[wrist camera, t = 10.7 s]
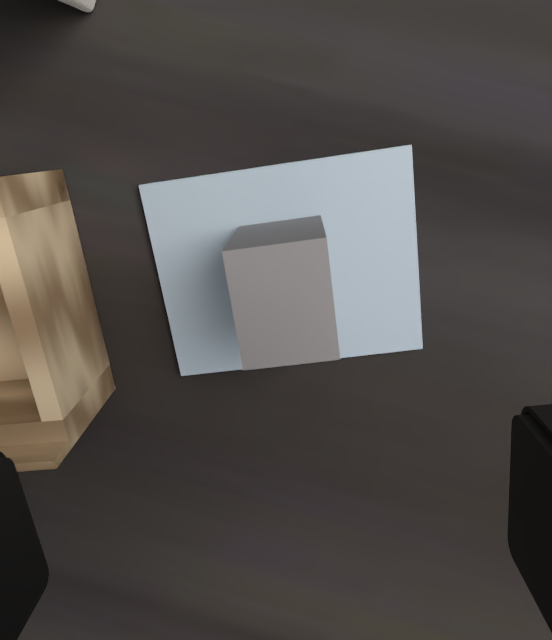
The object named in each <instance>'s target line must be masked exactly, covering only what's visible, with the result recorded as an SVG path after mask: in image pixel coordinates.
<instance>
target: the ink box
mask: <svg viewBox="0 0 552 640" xmlns="http://www.w3.org/2000/svg"><path fill="white" fill-rule="evenodd" d="M59 1H61V2H63V3H66V4H68V5H70V6H73V7H75V8H77V9H79V10H82V11H84V12H91V11H92V10H93V9H94V6H95V2H96V0H59Z"/></svg>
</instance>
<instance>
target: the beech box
mask: <svg viewBox="0 0 552 640" xmlns="http://www.w3.org/2000/svg"><path fill="white" fill-rule="evenodd" d="M115 389H116V388H115V384H114V380H113V376H112V372H111V367H110V363H109V359H108V355H107V351H106V347H105V343H104V338H103V334H102V330H101V326H100V322H99V318H98V314H97V310H96V305H95V301H94V297H93V293H92V289H91V285H90V281H89V276H88V272H87V268H86V264H85V260H84V256H83V252H82V248H81V243H80V239H79V235H78V231H77V227H76V223H75V219H74V214H73V210H72V206H71V202H70V198H69V194H68V190H67V186H66V181H65V177H64V173H63V169H59V170H51V171H42V172H34V173H26V174H18V175H10V176H2V177H0V452H2V453H3V454H4V455H5V456H6V458H7V457H8V458H10V459H11V460H12V461H13V462H14V464H15V467H16V470H17V472H19V471H33V470H46V469H57V468H58V466H59V465H60V463H61V462H62V461H63V459H64V458H65V457H66V455H67V454H68V453H69V451H70V450H71V449H72V447H73V446H74V444H75V443H76V442H77V440H78V439H79V438H80V436H81V435H82V434H83V432H84V431H85V429H86V428H87V427H88V425H89V424H90V423H91V421H92V420H93V419H94V417H95V416H96V414H97V413H98V412H99V410H100V409H101V408H102V406H103V405H104V404H105V402H106V401H107V400H108V398H109V397H110V395H111V394H112V393H113V391H114V390H115Z"/></svg>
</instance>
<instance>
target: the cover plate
mask: <svg viewBox="0 0 552 640" xmlns="http://www.w3.org/2000/svg"><path fill="white" fill-rule="evenodd" d="M138 186H139V190H140V195H141V199H142V204H143V208H144V212H145V217H146V221H147V226H148V230H149V235H150V239H151V244H152V248H153V253H154V257H155V262H156V266H157V271H158V275H159V280H160V284H161V288H162V293H163V297H164V302H165V306H166V311H167V315H168V320H169V324H170V329H171V333H172V338H173V342H174V347H175V351H176V355H177V360H178V364H179V369H180V373H181V376H186V375H195V374H204V373H213V372H222V371H231V370H239V369H243V370H252V369H261V368H270V367H279V366H287V365H296V364H305V363H314V362H323V361H332V360H340V358H345V357H354V356H363V355H372V354H381V353H389V352H398V351H407V350H416V349H423V344H422V325H421V307H420V289H419V270H418V252H417V233H416V215H415V196H414V178H413V159H412V145H404V146H397V147H391V148H384V149H377V150H370V151H364V152H357V153H350V154H343V155H337V156H330V157H323V158H316V159H310V160H303V161H296V162H289V163H283V164H276V165H269V166H262V167H255V168H249V169H242V170H235V171H228V172H222V173H215V174H208V175H201V176H195V177H188V178H181V179H174V180H168V181H161V182H154V183H147V184H141V185H138Z"/></svg>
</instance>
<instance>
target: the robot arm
mask: <svg viewBox="0 0 552 640" xmlns="http://www.w3.org/2000/svg"><path fill="white" fill-rule="evenodd" d="M508 544H509V549H510V552H511V555H512V558H513V560H514V562H515V564H516V566H517V567H518V569H519V571H520V573H521V575H522V577H523V579H524V581H525V583H526V585H527V586H528V588H529V590H530V592H531V594H532V596H533V598H534V600H535V602H536V604H537V605H538V607H539V609H540V611H541V613H542V615H543V617H544V619H545V621H546V623H547V624H548V626H549V628H550V630H551V632H552V404H549V405H537V406H525V407H524V408H523V410H522V413H521V415H515V416H514V417H513V419H512V431H511V459H510V486H509V514H508ZM48 576H49V571H48V566H47V562H46V559H45V556H44V553H43V550H42V547H41V544H40V541H39V538H38V535H37V532H36V529H35V526H34V523H33V519H32V516H31V513H30V510H29V507H28V504H27V501H26V498H25V495H24V492H23V489H22V486H21V483H20V479H19V476H18V473H17V470H16V467H15V464H14V462H13V461H12V460H11V459H10V458H8V457H7V458H6V456H5V455H4V454H3V453H2V452H0V640H17V638H18V637H19V635H20V633H21V631H22V630H23V628H24V626H25V624H26V622H27V621H28V619H29V617H30V615H31V613H32V612H33V610H34V608H35V606H36V604H37V603H38V601H39V599H40V597H41V596H42V594H43V592H44V590H45V588H46V586H47V582H48Z"/></svg>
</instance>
